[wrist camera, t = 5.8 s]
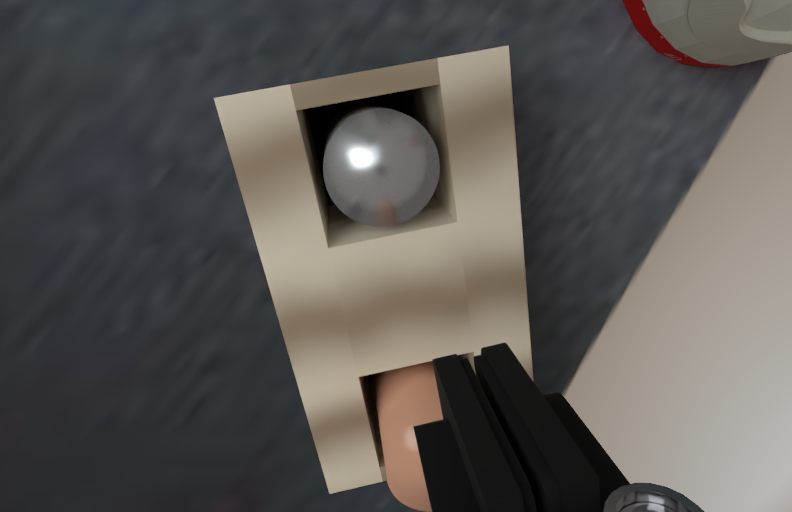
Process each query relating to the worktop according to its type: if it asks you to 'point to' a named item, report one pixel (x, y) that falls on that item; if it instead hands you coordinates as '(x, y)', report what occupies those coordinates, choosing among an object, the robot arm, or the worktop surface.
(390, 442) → the terracotta plug
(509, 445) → the robot arm
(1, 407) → the worktop surface
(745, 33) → the kitchen timer
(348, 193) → the grey plug
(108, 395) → the worktop surface
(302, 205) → the birch plug console
